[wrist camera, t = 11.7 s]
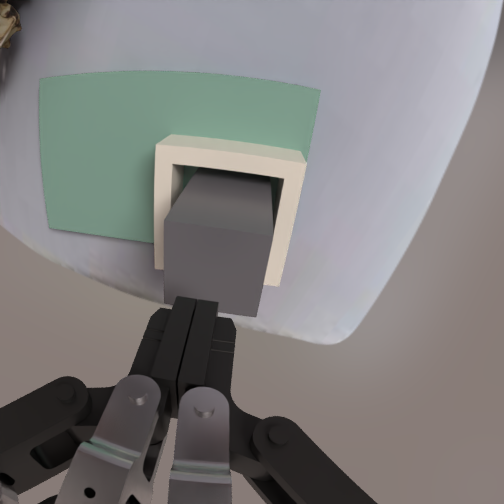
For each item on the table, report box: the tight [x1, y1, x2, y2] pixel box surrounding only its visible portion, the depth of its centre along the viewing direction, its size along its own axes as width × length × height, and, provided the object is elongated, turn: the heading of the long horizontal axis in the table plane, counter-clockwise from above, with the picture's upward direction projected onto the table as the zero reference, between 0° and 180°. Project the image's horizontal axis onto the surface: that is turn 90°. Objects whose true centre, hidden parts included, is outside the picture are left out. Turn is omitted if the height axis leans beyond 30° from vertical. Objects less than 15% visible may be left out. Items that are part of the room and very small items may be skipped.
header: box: [154, 134, 307, 287], centre depth 19 cm, size 8×8×3 cm
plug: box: [164, 167, 274, 317], centre depth 17 cm, size 5×4×8 cm
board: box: [39, 71, 321, 243], centre depth 19 cm, size 12×19×1 cm, turn 82°
